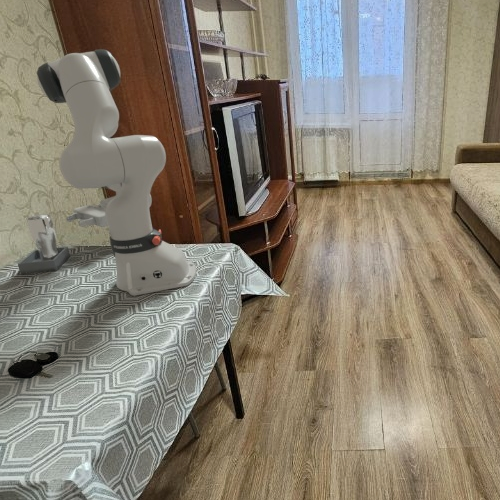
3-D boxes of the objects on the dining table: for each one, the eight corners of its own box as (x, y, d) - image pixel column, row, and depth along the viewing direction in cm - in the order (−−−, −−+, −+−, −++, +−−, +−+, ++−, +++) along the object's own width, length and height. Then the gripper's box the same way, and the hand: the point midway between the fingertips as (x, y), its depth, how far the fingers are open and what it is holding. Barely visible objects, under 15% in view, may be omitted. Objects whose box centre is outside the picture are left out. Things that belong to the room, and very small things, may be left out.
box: (70, 255, 129) (67, 246, 127) (57, 270, 118) (53, 260, 117) (37, 259, 128) (34, 249, 127) (21, 274, 118) (17, 264, 117)
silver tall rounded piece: (49, 257, 127) (37, 214, 121) (67, 257, 125) (55, 213, 120) (34, 265, 120) (20, 220, 115) (53, 265, 119) (40, 220, 113)
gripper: (94, 198, 141) (57, 208, 132) (123, 205, 128) (84, 217, 119) (98, 214, 144) (62, 225, 135) (127, 223, 131) (89, 236, 122)
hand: (73, 221), depth 127 cm, fingers open, 8 cm apart
